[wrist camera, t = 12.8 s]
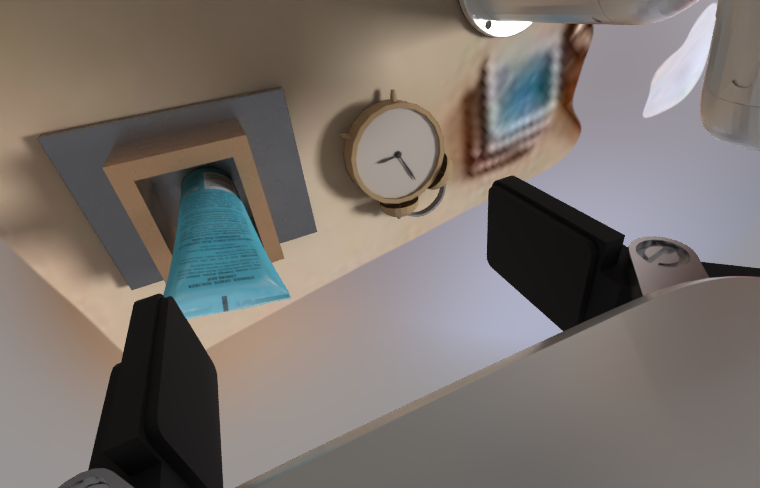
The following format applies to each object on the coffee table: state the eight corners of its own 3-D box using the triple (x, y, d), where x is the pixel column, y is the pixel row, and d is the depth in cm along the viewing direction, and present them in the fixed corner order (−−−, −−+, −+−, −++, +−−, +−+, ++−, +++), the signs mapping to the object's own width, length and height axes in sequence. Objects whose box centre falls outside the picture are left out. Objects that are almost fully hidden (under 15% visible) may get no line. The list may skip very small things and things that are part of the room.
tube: (175, 219, 38) (170, 355, 23) (161, 172, 35) (144, 291, 20) (253, 205, 40) (294, 320, 25) (244, 161, 38) (284, 259, 23)
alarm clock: (412, 76, 39) (478, 185, 46) (395, 77, 43) (458, 176, 51) (328, 147, 39) (407, 245, 46) (320, 141, 44) (393, 232, 51)
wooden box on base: (280, 87, 37) (297, 100, 31) (314, 227, 46) (332, 257, 40) (41, 134, 32) (10, 161, 26) (132, 283, 40) (124, 327, 35)
